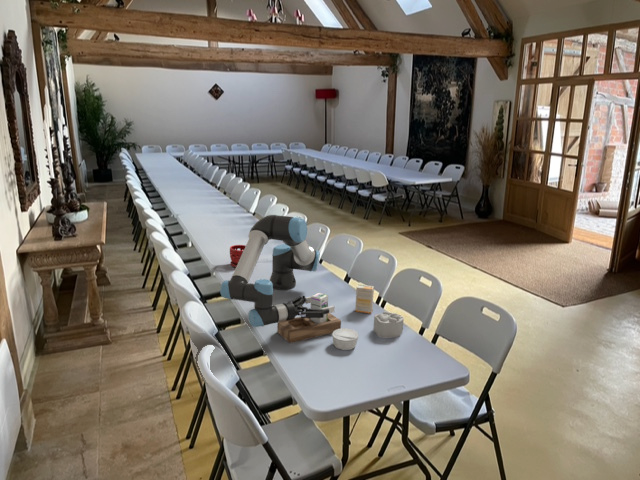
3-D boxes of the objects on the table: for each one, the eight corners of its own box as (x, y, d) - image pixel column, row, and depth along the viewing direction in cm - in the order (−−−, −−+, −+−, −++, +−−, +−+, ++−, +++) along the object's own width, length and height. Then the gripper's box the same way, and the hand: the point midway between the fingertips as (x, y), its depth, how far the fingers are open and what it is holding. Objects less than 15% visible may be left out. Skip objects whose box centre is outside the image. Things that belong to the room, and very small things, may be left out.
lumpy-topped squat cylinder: (371, 328, 219) (372, 311, 216) (396, 326, 222) (398, 308, 220) (380, 338, 209) (381, 320, 207) (406, 336, 213) (408, 318, 210)
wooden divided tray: (277, 332, 211) (277, 321, 210) (326, 320, 224) (326, 310, 223) (290, 343, 201) (290, 332, 200) (340, 330, 215) (341, 320, 213)
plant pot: (236, 270, 289) (236, 251, 286) (226, 264, 298) (225, 246, 295) (254, 266, 297) (254, 248, 294) (244, 261, 307) (244, 243, 303)
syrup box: (320, 329, 211) (321, 298, 207) (309, 325, 214) (310, 295, 211) (327, 324, 216) (328, 295, 212) (316, 321, 219) (318, 291, 215)
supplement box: (372, 310, 238) (374, 286, 235) (371, 314, 234) (372, 289, 230) (356, 308, 240) (358, 283, 237) (354, 311, 236) (356, 287, 233)
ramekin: (336, 353, 195) (336, 341, 194) (328, 340, 205) (328, 329, 204) (361, 350, 198) (362, 338, 197) (352, 338, 209) (353, 327, 207)
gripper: (271, 309, 214) (311, 301, 225) (298, 331, 194) (340, 321, 205) (271, 294, 212) (311, 286, 223) (298, 315, 192) (341, 305, 203)
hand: (325, 303), depth 214 cm, fingers open, 13 cm apart
